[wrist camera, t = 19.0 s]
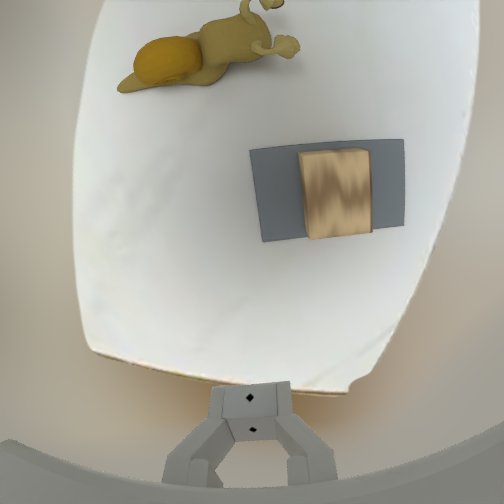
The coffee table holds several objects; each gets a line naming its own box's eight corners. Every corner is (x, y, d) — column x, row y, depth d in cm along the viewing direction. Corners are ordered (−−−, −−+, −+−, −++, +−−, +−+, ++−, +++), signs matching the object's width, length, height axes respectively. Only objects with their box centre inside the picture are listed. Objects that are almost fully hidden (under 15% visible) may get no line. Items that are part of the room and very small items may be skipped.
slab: (302, 155, 31) (370, 150, 30) (298, 152, 34) (360, 147, 34) (309, 239, 35) (372, 232, 35) (305, 229, 38) (363, 222, 38)
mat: (249, 150, 35) (249, 150, 34) (402, 139, 33) (403, 139, 33) (262, 241, 40) (262, 242, 39) (402, 224, 38) (403, 225, 38)
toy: (291, 71, 30) (304, 54, 21) (127, 117, 33) (88, 120, 24) (275, 15, 27) (281, -18, 18) (114, 64, 29) (74, 53, 20)
